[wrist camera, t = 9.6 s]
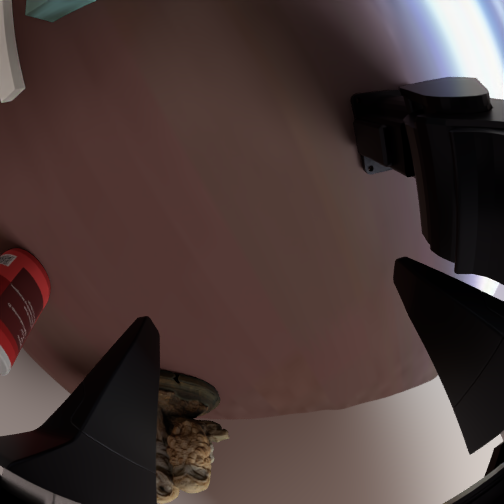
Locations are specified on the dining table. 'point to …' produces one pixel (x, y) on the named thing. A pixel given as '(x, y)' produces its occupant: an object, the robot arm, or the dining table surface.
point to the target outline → (9, 56)
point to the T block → (53, 8)
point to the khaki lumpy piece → (184, 435)
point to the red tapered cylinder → (19, 301)
